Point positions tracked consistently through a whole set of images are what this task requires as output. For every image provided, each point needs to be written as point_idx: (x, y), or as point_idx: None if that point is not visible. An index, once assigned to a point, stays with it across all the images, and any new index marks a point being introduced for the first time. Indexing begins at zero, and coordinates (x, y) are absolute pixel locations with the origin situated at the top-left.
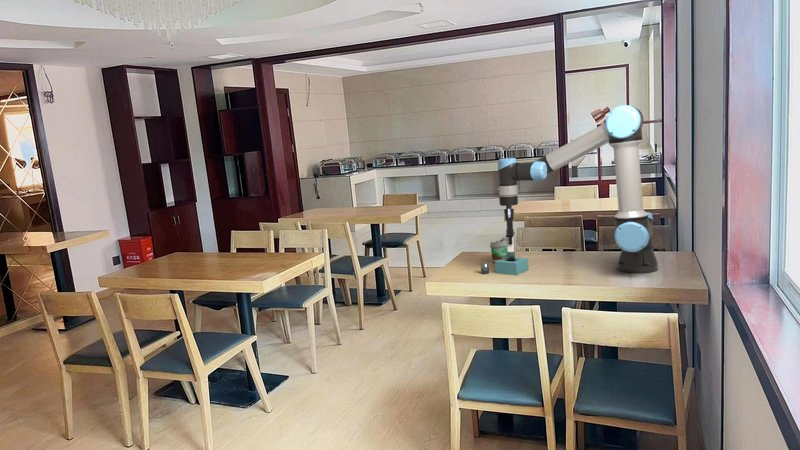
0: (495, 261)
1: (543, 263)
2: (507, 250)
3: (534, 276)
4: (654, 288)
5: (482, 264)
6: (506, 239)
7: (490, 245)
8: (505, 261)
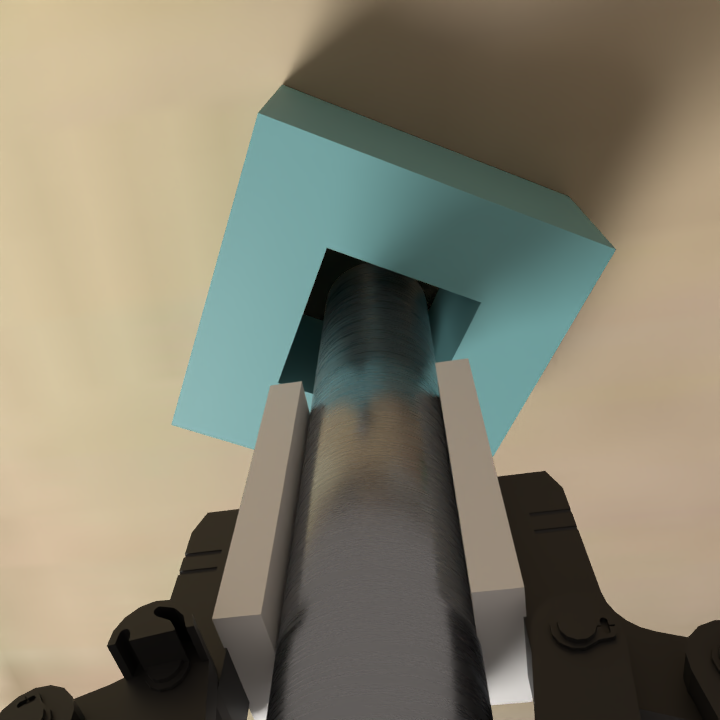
0: (264, 116)
1: (717, 518)
2: (329, 382)
3: (194, 493)
4: None
5: None
6: (357, 514)
7: None
8: (275, 276)
